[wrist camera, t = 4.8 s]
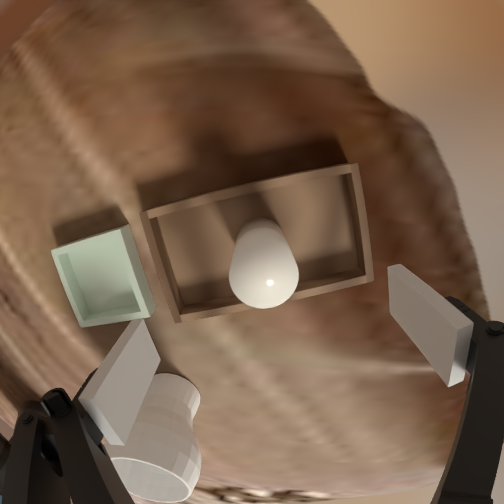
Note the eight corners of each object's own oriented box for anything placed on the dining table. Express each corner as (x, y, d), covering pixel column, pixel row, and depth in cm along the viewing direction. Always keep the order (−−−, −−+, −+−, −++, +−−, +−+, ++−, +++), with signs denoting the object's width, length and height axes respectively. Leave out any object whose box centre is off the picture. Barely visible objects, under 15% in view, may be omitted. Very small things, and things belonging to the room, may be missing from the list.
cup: (126, 397, 38) (90, 476, 23) (150, 350, 35) (107, 438, 21) (191, 429, 39) (175, 512, 25) (225, 387, 37) (214, 483, 22)
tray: (180, 310, 33) (175, 323, 31) (149, 208, 30) (139, 212, 28) (364, 271, 32) (373, 280, 29) (348, 162, 29) (357, 162, 26)
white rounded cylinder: (242, 268, 32) (238, 314, 22) (231, 223, 30) (221, 251, 21) (288, 258, 31) (303, 300, 22) (279, 212, 30) (291, 236, 20)
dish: (89, 318, 34) (80, 327, 32) (62, 244, 31) (50, 250, 29) (156, 306, 33) (150, 316, 31) (129, 223, 31) (120, 228, 28)
